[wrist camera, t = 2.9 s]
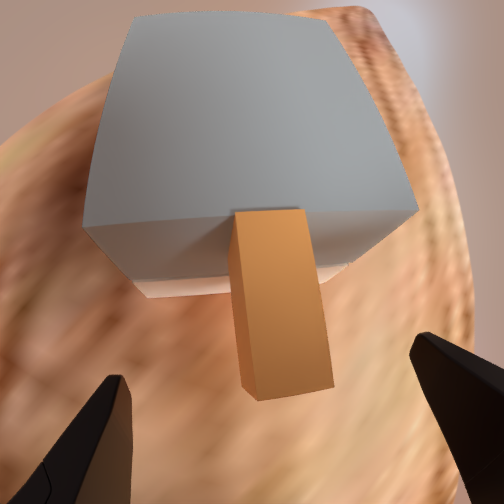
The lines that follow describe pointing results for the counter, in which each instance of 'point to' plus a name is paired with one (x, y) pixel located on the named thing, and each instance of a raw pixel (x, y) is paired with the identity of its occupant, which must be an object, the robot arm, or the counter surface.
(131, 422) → the robot arm
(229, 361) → the counter surface
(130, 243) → the grey boxy piece
